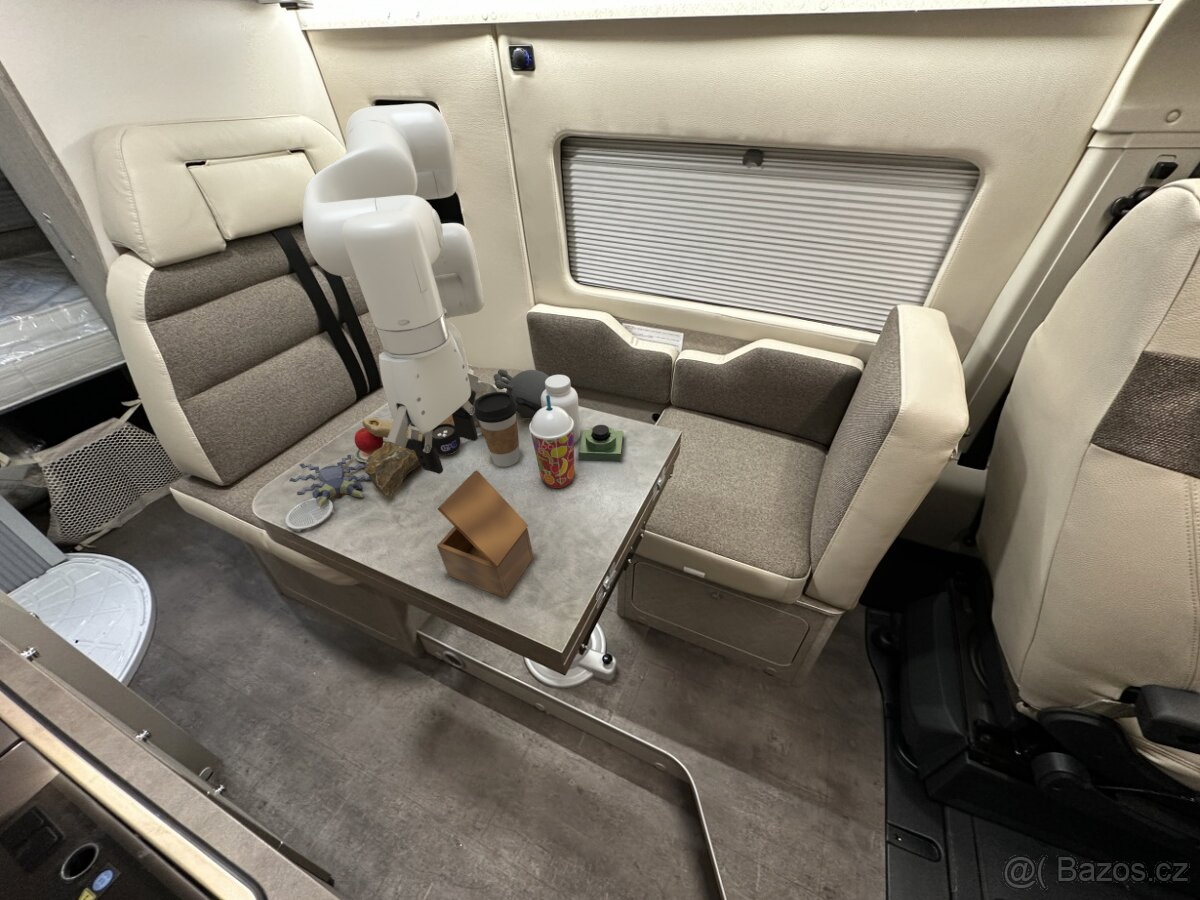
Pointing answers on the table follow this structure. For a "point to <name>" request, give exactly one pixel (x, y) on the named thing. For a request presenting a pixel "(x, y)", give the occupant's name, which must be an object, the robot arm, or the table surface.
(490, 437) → the coffee cup
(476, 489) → the lid
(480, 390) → the stone
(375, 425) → the oil lamp
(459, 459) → the table surface
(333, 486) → the toy
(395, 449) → the rock
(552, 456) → the smoothie
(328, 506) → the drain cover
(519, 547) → the box
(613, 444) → the button housing
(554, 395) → the pill bottle
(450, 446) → the mug
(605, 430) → the button
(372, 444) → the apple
